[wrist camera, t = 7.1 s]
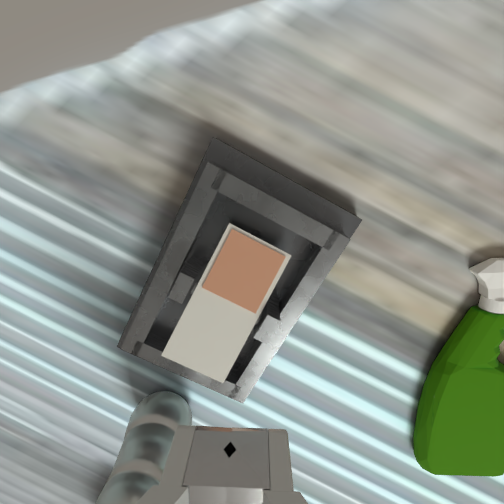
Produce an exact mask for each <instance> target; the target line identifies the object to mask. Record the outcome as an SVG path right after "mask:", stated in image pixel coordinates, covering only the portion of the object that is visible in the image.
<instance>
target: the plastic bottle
mask: <svg viewBox="0 0 504 504" xmlns="http://www.w3.org/2000/svg"><path fill="white" fill-rule="evenodd" d="M178 425H190V426H192V412H191V410H190V407H189V405H188V404H187V402H186V401H185V400H184V399H183V398H182V397H181V396H180V395H178V394H176V393H173V392H169V391H160V392H156V393H153V394H151V395H149V396H147V397H145V398H144V399H143V400H142V401H141V402H140V403H139V404H138V406H137V407H136V409H135V410H134V411H133V413H132V415H131V417H130V420H129V423H128V426H127V429H126V433H125V438H124V441H123V444H122V447H121V449H120V452H119V455H118V457H117V460H116V463H115V465H114V468H113V470H112V472H111V474H110V476H109V478H108V480H107V482H106V484H105V486H104V488H103V490H102V492H101V493H100V495H99V497H98V499H97V501H96V503H95V504H135V503H136V502H137V501H138V500H139V499H140V498H141V497H142V496H143V495H144V494H145V493H146V492H147V491H148V490H149V489H150V488H151V487H152V486H153V485H159V483H160V480H161V477H162V473H163V470H164V467H165V463H166V460H167V457H168V453H169V450H170V447H171V444H172V440H173V437H174V434H175V430H176V429H177V427H178Z"/></svg>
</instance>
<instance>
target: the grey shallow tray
mask: <svg viewBox="0 0 504 504" xmlns="http://www.w3.org/2000/svg"><path fill="white" fill-rule="evenodd" d="M361 221H362V219H360V218H359V217H357V216H355V215H354V214H352V213H350V212H348V211H346V210H345V209H343V208H341V207H339V206H337V205H336V204H334V203H332V202H330V201H328V200H327V199H325V198H323V197H321V196H319V195H318V194H316V193H314V192H312V191H310V190H308V189H307V188H305V187H303V186H301V185H299V184H298V183H296V182H294V181H292V180H290V179H289V178H287V177H285V176H283V175H281V174H280V173H278V172H276V171H274V170H272V169H271V168H269V167H267V166H265V165H263V164H262V163H260V162H258V161H256V160H254V159H253V158H251V157H249V156H247V155H245V154H244V153H242V152H240V151H238V150H236V149H235V148H233V147H231V146H229V145H227V144H226V143H224V142H222V141H220V140H218V139H217V138H214V137H213V138H212V140H211V143H210V145H209V147H208V149H207V151H206V153H205V156H204V158H203V160H202V162H201V164H200V166H199V169H198V171H197V173H196V175H195V177H194V180H193V182H192V184H191V186H190V188H189V190H188V193H187V195H186V197H185V199H184V201H183V203H182V206H181V208H180V210H179V212H178V214H177V217H176V219H175V221H174V223H173V225H172V227H171V230H170V232H169V234H168V236H167V238H166V241H165V243H164V245H163V247H162V249H161V251H160V254H159V256H158V258H157V260H156V262H155V264H154V267H153V269H152V271H151V273H150V275H149V278H148V280H147V282H146V284H145V286H144V288H143V291H142V293H141V295H140V297H139V299H138V302H137V304H136V306H135V308H134V310H133V312H132V315H131V317H130V319H129V321H128V323H127V325H126V328H125V330H124V332H123V334H122V336H121V339H120V341H119V343H118V345H117V347H118V348H121V349H122V350H124V351H126V352H128V353H131V354H133V355H135V356H137V357H140V358H142V359H144V360H146V361H149V362H151V363H153V364H155V365H158V366H160V367H162V368H164V369H167V370H169V371H171V372H173V373H176V374H178V375H180V376H182V377H185V378H187V379H189V380H191V381H194V382H196V383H198V384H200V385H203V386H205V387H207V388H209V389H212V390H214V391H216V392H218V393H221V394H223V395H225V396H227V397H230V398H232V399H234V400H236V401H239V402H241V403H243V402H244V401H245V399H246V398H247V396H248V395H249V393H250V392H251V390H252V389H253V387H254V386H255V384H256V382H257V381H258V379H259V378H260V376H261V375H262V373H263V372H264V370H265V369H266V367H267V366H268V364H269V363H270V361H271V360H272V358H273V357H274V355H275V354H276V352H277V351H278V349H279V348H280V346H281V345H282V343H283V341H284V340H285V338H286V337H287V335H288V334H289V332H290V331H291V329H292V328H293V326H294V325H295V323H296V322H297V320H298V319H299V317H300V316H301V314H302V313H303V311H304V310H305V308H306V307H307V305H308V303H309V302H310V300H311V299H312V297H313V296H314V294H315V293H316V291H317V290H318V288H319V287H320V285H321V284H322V282H323V281H324V279H325V278H326V276H327V275H328V273H329V272H330V270H331V269H332V267H333V265H334V264H335V262H336V261H337V259H338V258H339V256H340V255H341V253H342V252H343V250H344V249H345V247H346V246H347V244H348V243H349V241H350V240H351V239H350V238H351V236H352V235H353V233H354V232H355V230H356V229H357V227H358V226H359V224H360V223H361ZM229 223H231V224H233V225H235V226H236V227H238V228H240V229H242V230H244V231H246V232H248V233H250V234H252V235H254V236H256V237H258V238H259V239H261V240H263V241H265V242H267V243H269V244H271V245H273V246H275V247H277V248H279V249H281V250H283V251H284V252H286V253H288V254H290V255H292V256H291V258H290V260H289V261H288V263H287V265H286V267H285V269H284V271H283V273H282V275H281V276H280V278H279V280H278V282H277V284H276V286H275V288H274V289H273V291H272V293H271V295H270V297H269V299H268V301H267V303H266V304H265V306H264V308H263V310H262V312H261V318H260V320H259V322H258V323H257V325H254V327H253V329H252V331H251V333H250V334H249V336H248V338H247V340H246V342H245V344H244V346H243V348H242V349H241V351H240V353H239V355H238V357H237V359H236V361H235V362H234V364H233V366H232V368H231V370H230V372H229V374H228V376H227V377H226V379H225V381H224V383H221V382H219V381H217V380H214V379H212V378H210V377H208V376H205V375H203V374H201V373H199V372H197V371H194V370H192V369H190V368H188V367H185V366H183V365H181V364H179V363H176V362H174V361H172V360H170V359H168V358H165V357H163V356H161V355H162V353H163V351H164V349H165V347H166V345H167V343H168V341H169V339H170V337H171V335H172V333H173V331H174V329H175V327H176V325H177V323H178V321H179V319H180V318H181V316H182V314H183V312H184V310H185V308H186V306H187V304H188V302H189V300H190V298H191V296H192V294H191V291H192V289H193V287H194V285H195V283H196V282H197V283H199V281H200V279H201V277H202V275H203V273H204V271H205V269H206V267H207V265H208V263H209V261H210V259H211V257H212V255H213V253H214V251H215V249H216V248H217V246H218V244H219V242H220V240H221V238H222V236H223V234H224V232H225V230H226V228H227V226H228V224H229Z"/></svg>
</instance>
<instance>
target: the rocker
mask: <svg viewBox="0 0 504 504" xmlns="http://www.w3.org/2000/svg"><path fill="white" fill-rule="evenodd" d="M291 256H292V255H290V254H288V253H286V252H284V251H283V250H281V249H279V248H277V247H275V246H273V245H271V244H269V243H267V242H265V241H263V240H261V239H259V238H258V237H256V236H254V235H252V234H250V233H248V232H246V231H244V230H242V229H240V228H238V227H236V226H235V225H233V224H231V223H229V224H228V226H227V228H226V230H225V232H224V234H223V236H222V238H221V240H220V242H219V244H218V246H217V248H216V249H215V251H214V253H213V255H212V257H211V259H210V261H209V263H208V265H207V267H206V269H205V271H204V273H203V275H202V277H201V279H200V281H199V283H197V282H196V283H195V285H194V287H193V289H192V291H191V294H192V296H191V298H190V300H189V302H188V304H187V306H186V308H185V310H184V312H183V314H182V316H181V318H180V319H179V321H178V323H177V325H176V327H175V329H174V331H173V333H172V335H171V337H170V339H169V341H168V343H167V345H166V347H165V349H164V351H163V353H162V355H161V356H163V357H165V358H168V359H170V360H172V361H174V362H176V363H179V364H181V365H183V366H185V367H188V368H190V369H192V370H194V371H197V372H199V373H201V374H203V375H205V376H208V377H210V378H212V379H214V380H217V381H219V382H221V383H224V381H225V379H226V377H227V376H228V374H229V372H230V370H231V368H232V366H233V364H234V362H235V361H236V359H237V357H238V355H239V353H240V351H241V349H242V348H243V346H244V344H245V342H246V340H247V338H248V336H249V334H250V333H251V331H252V329H253V327H254V325H257V323H258V322H259V320H260V318H261V312H262V310H263V308H264V306H265V304H266V303H267V301H268V299H269V297H270V295H271V293H272V291H273V289H274V288H275V286H276V284H277V282H278V280H279V278H280V276H281V275H282V273H283V271H284V269H285V267H286V265H287V263H288V261H289V260H290V258H291Z"/></svg>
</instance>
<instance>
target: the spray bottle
mask: <svg viewBox="0 0 504 504" xmlns="http://www.w3.org/2000/svg"><path fill="white" fill-rule="evenodd" d="M469 270H470V271H471V272H472V273H473V274H474V275H475V276H476V278H477V280H478V282H479V293H480V294H481V296H480V300H479V304H478V305H476V306H472V307H471V308H470V309H469V311H468V312H467V313H466V315H465V316H464V318H463V319H462V320H461V322H460V323H459V325H458V326H457V328H456V329H455V330H454V332H453V333H452V335H451V336H450V338H449V339H448V341H447V342H446V344H445V345H444V347H443V348H442V350H441V351H440V353H439V354H438V356H437V358H436V359H435V361H434V362H433V364H432V366H431V369H430V371H429V373H428V376H427V378H426V380H425V383H424V386H423V390H422V393H421V397H420V400H419V404H418V409H417V416H416V422H415V429H414V435H413V441H414V455H415V457H416V460H417V462H418V463H419V464H420V466H421V467H422V468H423V469H425V470H427V471H428V472H430V473H432V474H435V475H465V476H499V475H503V474H504V364H502V363H500V362H499V361H498V359H497V357H498V356H499V354H500V349H499V345H500V344H501V342H502V341H503V340H504V258H490V259H488V260H486V261H483V262H481V263H479V264H477V265H475V266H473V267H471V268H469Z"/></svg>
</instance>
